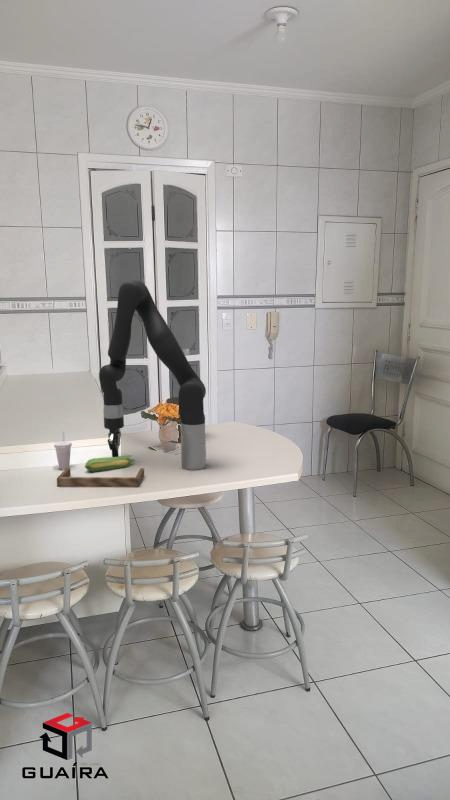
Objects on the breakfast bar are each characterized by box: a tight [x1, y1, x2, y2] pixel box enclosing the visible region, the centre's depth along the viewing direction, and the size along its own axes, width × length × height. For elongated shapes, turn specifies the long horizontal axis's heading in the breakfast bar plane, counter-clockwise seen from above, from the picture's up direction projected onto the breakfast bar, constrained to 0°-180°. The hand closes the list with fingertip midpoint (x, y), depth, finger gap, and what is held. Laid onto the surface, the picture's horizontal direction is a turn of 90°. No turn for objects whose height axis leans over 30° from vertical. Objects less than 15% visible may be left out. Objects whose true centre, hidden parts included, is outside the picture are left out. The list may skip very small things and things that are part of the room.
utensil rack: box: [56, 467, 145, 488], centre depth 196 cm, size 28×12×3 cm, turn 89°
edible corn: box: [84, 454, 136, 473], centre depth 211 cm, size 5×20×5 cm
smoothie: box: [53, 431, 73, 470], centre depth 211 cm, size 6×6×14 cm
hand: (115, 458), depth 218 cm, fingers closed
